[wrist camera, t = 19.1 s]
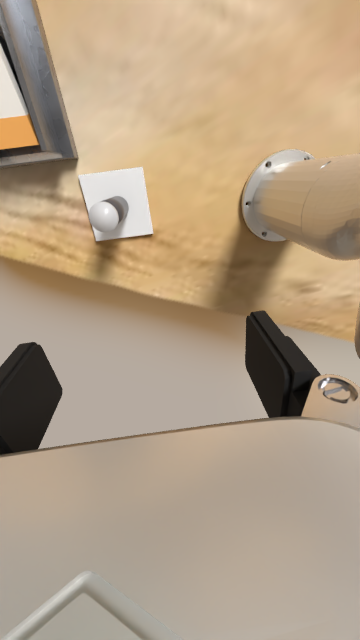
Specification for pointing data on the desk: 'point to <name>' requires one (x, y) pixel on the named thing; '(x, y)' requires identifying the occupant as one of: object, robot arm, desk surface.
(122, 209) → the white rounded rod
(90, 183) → the mat
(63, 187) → the desk surface
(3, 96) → the tilting box lid
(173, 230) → the desk surface
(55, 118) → the tilting lid box
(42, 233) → the desk surface
